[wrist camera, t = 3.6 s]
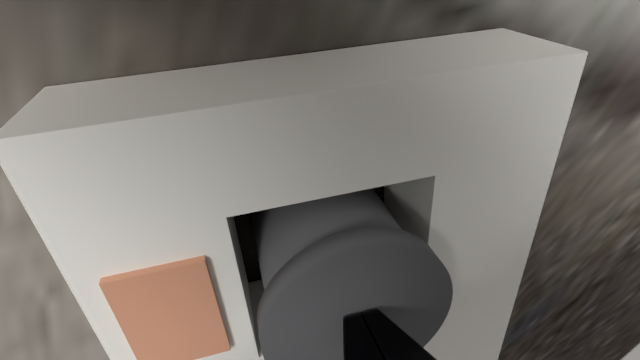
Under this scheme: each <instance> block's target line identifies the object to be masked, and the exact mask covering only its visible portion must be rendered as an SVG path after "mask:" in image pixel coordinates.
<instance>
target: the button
mask: <svg viewBox="0 0 640 360" xmlns="http://www.w3.org/2000/svg"><path fill="white" fill-rule="evenodd" d="M251 222H252V229H253V234H254V239H255V244H256V250H257V255H258V260H259V266H260V271H261V276H262V281H263V287H264V292H263V295H262V297H261V299H260V302H259V306H258V310H257V325H258V333H259V339H260V346H261V351H262V354H263V357H264V360H344V356H343V317H345V316H348V315H352V314H356V313H359V314H361V312H363V311H367V310H371V309H379V310H380V311H381V312H382V313H384V314H385V315H386V316H387V317H388V318H389V319H391V320H392V321H393V322H394V323H395V324H396V325H397V326H399V327H400V328H401V329H402V330H403V331H404V332H406V333H407V334H408V335H409V336H410V337H411V338H413V339H414V340H415V341H416V342H417V343H418V344H419V345H421V346H422V347H424V346H425V345H426V344H427V343H428V342H429V341H430V340H431V339H432V338H433V337H434V335H435V334H436V333H437V331H438V330H439V329H440V327H441V326H442V324H443V322H444V321H445V319H446V317H447V315H448V312H449V310H450V306H451V302H452V296H453V286H452V281H451V277H450V274H449V272H448V271H447V269H446V267H445V266H444V265H443V263H442V262H441V261H440V259H439V258H438V257H437V255H436V254H435V253H434V251H433V250H432V249H431V248H430V247H429V245H428V244H427V243H426V242H424V241H423V240H422V239H421V238H419V237H417V236H416V235H414V234H412V233H409V232H407V231H404V230H402V229H401V227H400V226H399V224H398V223H397V222H396V220H395V219H394V217H393V216H392V215H391V213H390V212H389V210H388V209H387V208H386V206H385V205H384V203H383V202H382V201H381V199H380V198H379V196H378V195H377V194H376V192H375V191H374V189H373V188H371V189H366V190H361V191H356V192H351V193H346V194H341V195H336V196H331V197H326V198H321V199H316V200H311V201H306V202H301V203H297V204H292V205H287V206H282V207H277V208H272V209H267V210H262V211H257V212H252V213H251Z"/></svg>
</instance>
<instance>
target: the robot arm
mask: <svg viewBox="0 0 640 360" xmlns="http://www.w3.org/2000/svg"><path fill="white" fill-rule="evenodd" d="M343 356H344V360H437V359H436V358H434V357H433V356H432V355H431V354H430V353H429V352H428V351H426V350H425V349H424V348H423V347H422V346H421V345H419V344H418V343H417V342H416V341H415V340H414V339H413V338H411V337H410V336H409V335H408V334H407V333H406V332H404V331H403V330H402V329H401V328H400V327H399V326H397V325H396V324H395V323H394V322H393V321H392V320H391V319H389V318H388V317H387V316H386V315H385V314H384V313H382V312H381V311H380V310H379V309H371V310H367V311H363V312H361V314H359V313H356V314H352V315H348V316H345V317H343Z"/></svg>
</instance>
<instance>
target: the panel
mask: <svg viewBox="0 0 640 360" xmlns="http://www.w3.org/2000/svg"><path fill="white" fill-rule="evenodd" d="M587 54H588V52H587V51H584V50H580V49H577V48H573V47H569V46H566V45H562V44H559V43H555V42H551V41H548V40H544V39H541V38H537V37H533V36H530V35H526V34H523V33H519V32H515V31H512V30H508V29H504V28H498V29H491V30H483V31H475V32H467V33H459V34H452V35H444V36H436V37H428V38H421V39H413V40H405V41H397V42H390V43H382V44H374V45H366V46H358V47H351V48H343V49H335V50H327V51H320V52H312V53H304V54H296V55H289V56H281V57H273V58H265V59H258V60H250V61H242V62H234V63H226V64H219V65H211V66H203V67H195V68H188V69H180V70H172V71H164V72H157V73H149V74H141V75H133V76H125V77H118V78H110V79H102V80H94V81H87V82H79V83H71V84H63V85H56V86H48V87H44V88H43V89H42V90H41V91H40V92H39V93H38V94H37V95H36V96H35V97H34V98H33V99H31V100H30V101H29V102H28V103H27V104H26V105H25V106H24V107H23V108H22V109H21V110H20V111H19V112H17V113H16V114H15V115H14V116H13V117H12V118H11V119H10V120H9V121H8V122H7V123H6V124H5V125H4V126H2V127H1V128H0V165H1V167H2V169H3V171H4V172H5V174H6V176H7V178H8V179H9V181H10V183H11V185H12V186H13V188H14V190H15V192H16V194H17V195H18V197H19V199H20V201H21V202H22V204H23V206H24V208H25V209H26V211H27V213H28V215H29V217H30V218H31V220H32V222H33V224H34V225H35V227H36V229H37V231H38V232H39V234H40V236H41V238H42V240H43V241H44V243H45V245H46V247H47V248H48V250H49V252H50V254H51V255H52V257H53V259H54V261H55V263H56V264H57V266H58V268H59V270H60V271H61V273H62V275H63V277H64V278H65V280H66V282H67V284H68V286H69V287H70V289H71V291H72V293H73V294H74V296H75V298H76V300H77V301H78V303H79V305H80V307H81V309H82V310H83V312H84V314H85V316H86V317H87V319H88V321H89V323H90V324H91V326H92V328H93V330H94V332H95V333H96V335H97V337H98V339H99V340H100V342H101V344H102V346H103V347H104V349H105V351H106V353H107V355H108V356H109V358H110V360H264V357H263V354H262V351H261V346H260V339H259V333H258V325H257V310H258V306H259V302H260V299H261V297H262V295H263V292H264V287H263V281H262V279H260V280H256V281H252V282H248V280H247V276H246V271H245V266H244V262H243V257H242V253H241V248H240V244H239V239H238V235H237V230H236V226H235V221H234V217H233V216H237V215H242V214H247V213H252V212H257V211H262V210H267V209H272V208H277V207H282V206H287V205H292V204H297V203H301V202H306V201H311V200H316V199H321V198H326V197H331V196H336V195H341V194H346V193H351V192H356V191H361V190H366V189H371V188H376V187H381V186H384V205H385V206H386V208H387V209H388V210H389V212H390V213H391V215H392V216H393V217H394V219H395V220H396V222H397V223H398V224H399V226H400V227H401V229H402V230H404V231H407V232H409V233H412V234H414V235H416V236H417V237H419V238H421V239H422V240H423V241H424V242H426V243H427V244H428V245H429V247H430V248H431V249H432V250H433V251H434V253H435V254H436V255H437V257H438V258H439V259H440V261H441V262H442V263H443V265H444V266H445V267H446V269H447V271H448V272H449V274H450V277H451V281H452V286H453V296H452V302H451V306H450V310H449V312H448V315H447V317H446V319H445V321H444V322H443V324H442V326H441V327H440V329H439V330H438V331H437V333H436V334H435V335H434V337H433V338H432V339H431V340H430V341H429V342H428V343H427V344H426V345H425V346H424V347H423V348H424V349H425V350H426V351H428V352H429V353H430V354H431V355H432V356H433V357H434V358H436V359H437V360H498V357H499V353H500V350H501V347H502V343H503V340H504V336H505V333H506V330H507V326H508V323H509V319H510V316H511V313H512V309H513V306H514V302H515V299H516V296H517V292H518V289H519V285H520V282H521V279H522V275H523V272H524V268H525V265H526V262H527V258H528V255H529V252H530V248H531V245H532V241H533V238H534V235H535V231H536V228H537V224H538V221H539V218H540V214H541V211H542V207H543V204H544V201H545V197H546V194H547V190H548V187H549V184H550V180H551V177H552V173H553V170H554V167H555V163H556V160H557V156H558V153H559V150H560V146H561V143H562V139H563V136H564V133H565V129H566V126H567V122H568V119H569V116H570V112H571V109H572V105H573V102H574V99H575V95H576V92H577V88H578V85H579V82H580V78H581V75H582V71H583V68H584V65H585V61H586V58H587Z"/></svg>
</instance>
